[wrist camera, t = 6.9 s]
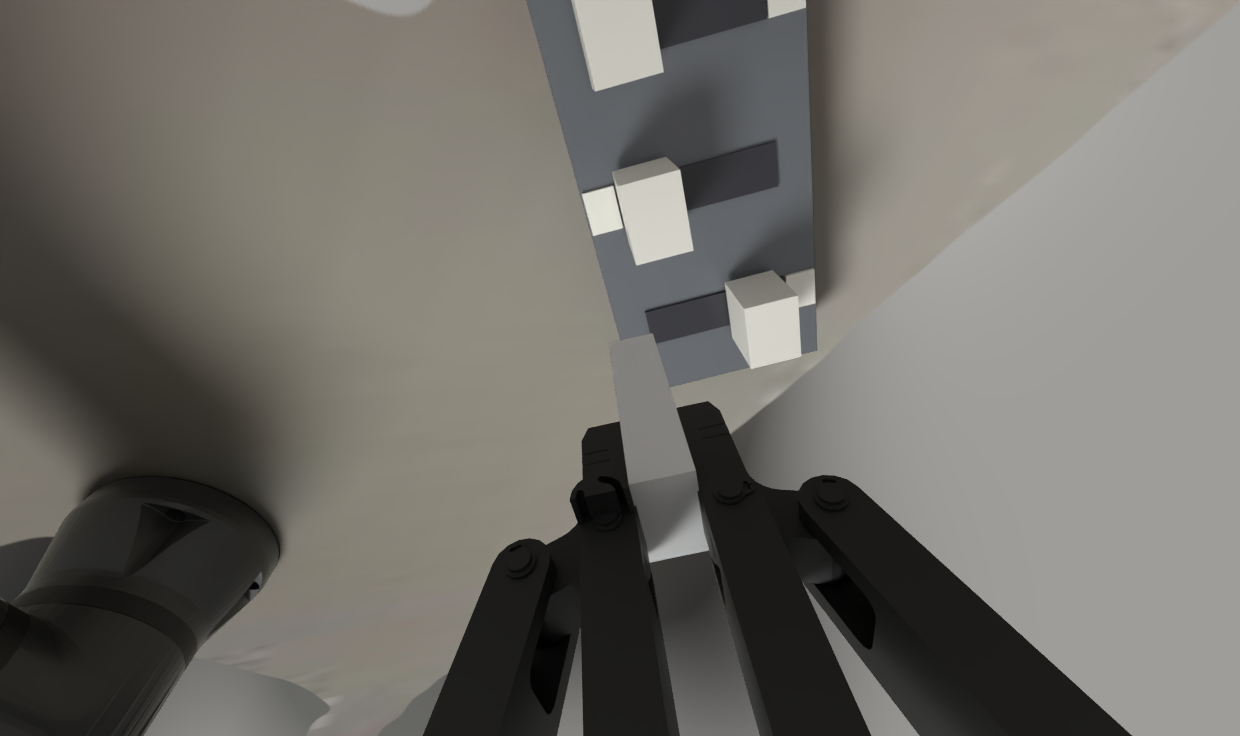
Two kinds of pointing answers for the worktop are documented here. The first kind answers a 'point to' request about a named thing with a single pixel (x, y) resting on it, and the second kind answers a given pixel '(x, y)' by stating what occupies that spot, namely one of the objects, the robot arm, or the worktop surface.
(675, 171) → the tab
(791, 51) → the switch bank
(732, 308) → the tab
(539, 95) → the worktop surface
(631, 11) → the tab
